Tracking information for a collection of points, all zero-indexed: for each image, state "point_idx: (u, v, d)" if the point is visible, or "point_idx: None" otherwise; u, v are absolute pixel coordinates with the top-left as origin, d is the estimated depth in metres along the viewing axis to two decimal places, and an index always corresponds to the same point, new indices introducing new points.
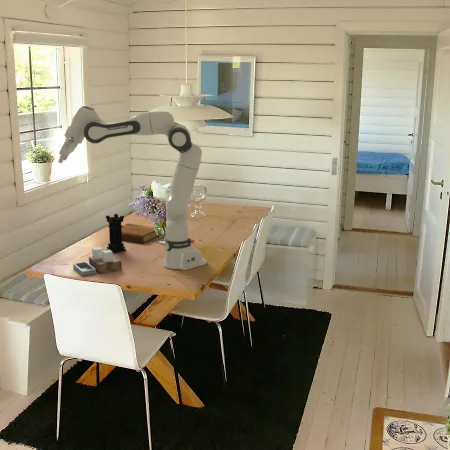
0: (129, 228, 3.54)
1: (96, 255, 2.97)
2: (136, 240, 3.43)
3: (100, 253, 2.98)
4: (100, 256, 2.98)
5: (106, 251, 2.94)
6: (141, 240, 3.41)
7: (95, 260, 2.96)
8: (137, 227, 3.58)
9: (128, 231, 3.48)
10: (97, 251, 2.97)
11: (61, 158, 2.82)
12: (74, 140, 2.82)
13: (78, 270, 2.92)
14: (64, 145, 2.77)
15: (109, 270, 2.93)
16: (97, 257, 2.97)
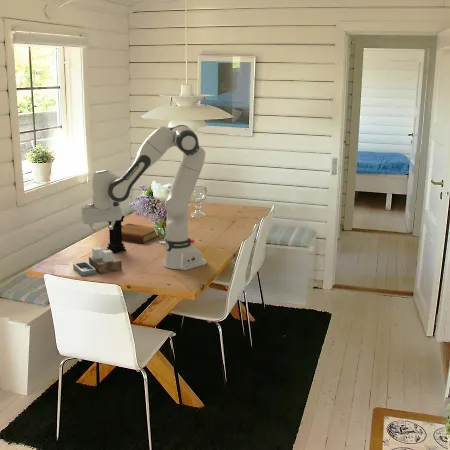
0: (129, 228, 3.54)
1: (96, 255, 2.97)
2: (136, 240, 3.43)
3: (100, 253, 2.98)
4: (100, 256, 2.98)
5: (106, 251, 2.94)
6: (141, 240, 3.41)
7: (95, 260, 2.96)
8: (137, 227, 3.58)
9: (128, 231, 3.48)
10: (97, 251, 2.97)
11: None
12: (95, 206, 2.84)
13: (78, 270, 2.92)
14: None
15: (109, 270, 2.93)
16: (97, 257, 2.97)
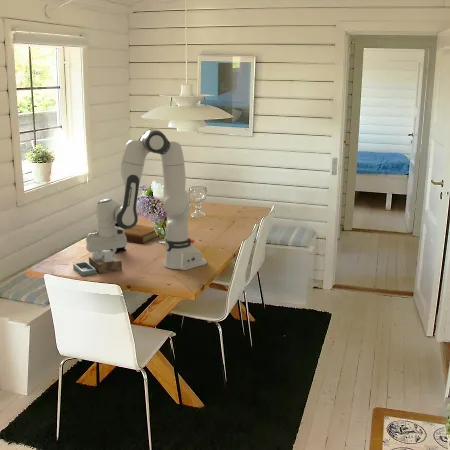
0: None
1: (96, 255, 2.97)
2: (136, 240, 3.43)
3: None
4: None
5: (106, 251, 2.94)
6: (141, 240, 3.41)
7: (95, 260, 2.96)
8: (138, 227, 3.58)
9: (128, 231, 3.48)
10: (97, 251, 2.97)
11: None
12: (99, 234, 2.88)
13: (78, 270, 2.92)
14: (87, 241, 2.88)
15: (109, 270, 2.93)
16: (97, 257, 2.97)
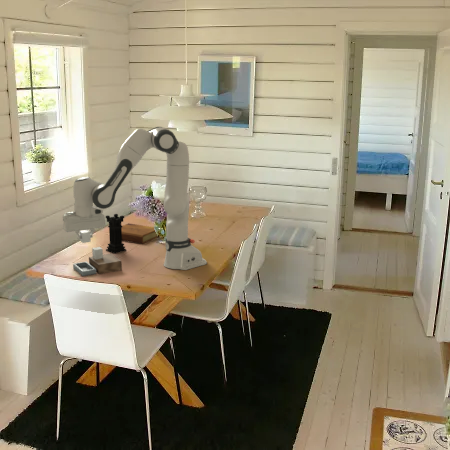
0: (129, 228, 3.54)
1: (96, 255, 2.97)
2: (135, 240, 3.43)
3: (100, 253, 2.98)
4: (100, 256, 2.98)
5: (84, 231, 2.86)
6: (140, 240, 3.41)
7: (95, 260, 2.96)
8: (138, 227, 3.58)
9: (128, 231, 3.48)
10: (97, 251, 2.97)
11: (77, 234, 2.85)
12: (76, 214, 2.81)
13: (78, 270, 2.92)
14: (64, 221, 2.81)
15: (109, 270, 2.93)
16: (97, 257, 2.97)
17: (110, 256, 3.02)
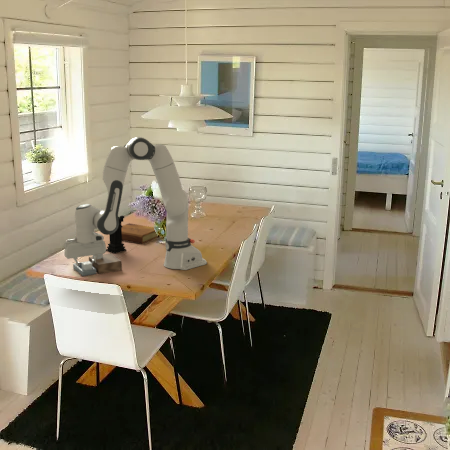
0: (129, 228, 3.54)
1: None
2: (135, 240, 3.43)
3: None
4: (100, 256, 2.98)
5: (86, 263, 2.90)
6: (140, 240, 3.41)
7: None
8: (138, 227, 3.58)
9: (128, 231, 3.48)
10: None
11: (75, 261, 2.87)
12: (77, 241, 2.84)
13: (78, 270, 2.92)
14: (65, 247, 2.84)
15: (109, 270, 2.93)
16: (97, 257, 2.97)
17: (110, 256, 3.02)
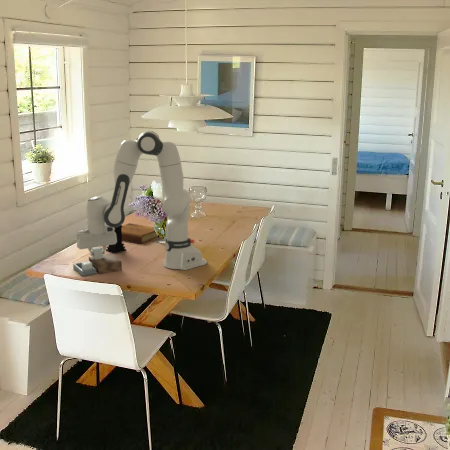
0: (129, 228, 3.54)
1: (96, 255, 2.97)
2: (135, 240, 3.43)
3: (100, 253, 2.98)
4: (100, 256, 2.98)
5: (86, 263, 2.90)
6: (139, 240, 3.41)
7: (95, 260, 2.96)
8: (138, 227, 3.58)
9: (128, 231, 3.48)
10: (97, 251, 2.97)
11: None
12: (89, 232, 2.93)
13: (78, 270, 2.92)
14: None
15: (109, 270, 2.93)
16: (97, 257, 2.97)
17: (110, 256, 3.02)
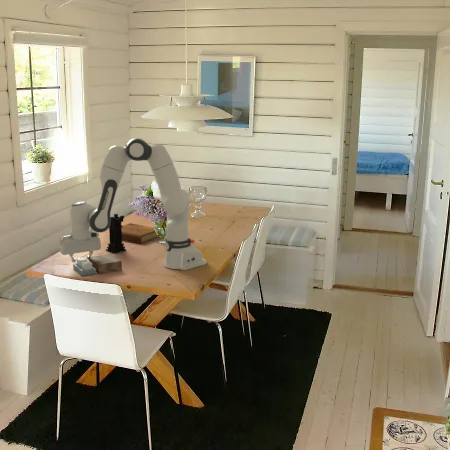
0: (129, 228, 3.54)
1: (80, 266, 2.95)
2: (134, 240, 3.43)
3: None
4: None
5: (86, 263, 2.90)
6: (139, 240, 3.41)
7: (95, 260, 2.96)
8: (138, 227, 3.58)
9: (128, 231, 3.49)
10: (81, 262, 2.95)
11: (71, 257, 2.93)
12: (73, 237, 2.90)
13: (78, 270, 2.92)
14: None
15: (109, 270, 2.93)
16: (81, 268, 2.95)
17: (110, 256, 3.02)
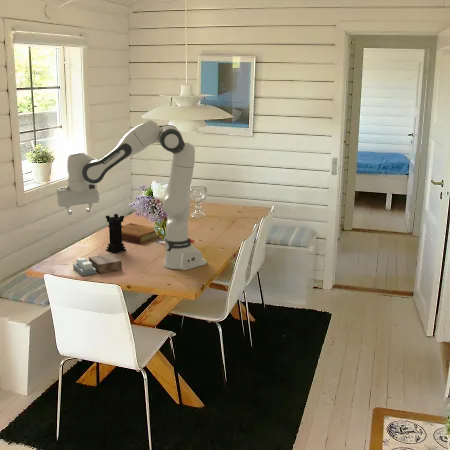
0: (129, 228, 3.54)
1: (80, 266, 2.95)
2: (134, 240, 3.43)
3: None
4: None
5: (86, 263, 2.90)
6: (138, 240, 3.41)
7: (95, 260, 2.96)
8: (138, 227, 3.58)
9: (127, 231, 3.49)
10: (81, 262, 2.95)
11: (67, 209, 2.87)
12: (70, 189, 2.84)
13: (78, 270, 2.92)
14: (58, 195, 2.84)
15: (109, 270, 2.93)
16: (81, 268, 2.95)
17: (110, 256, 3.02)
